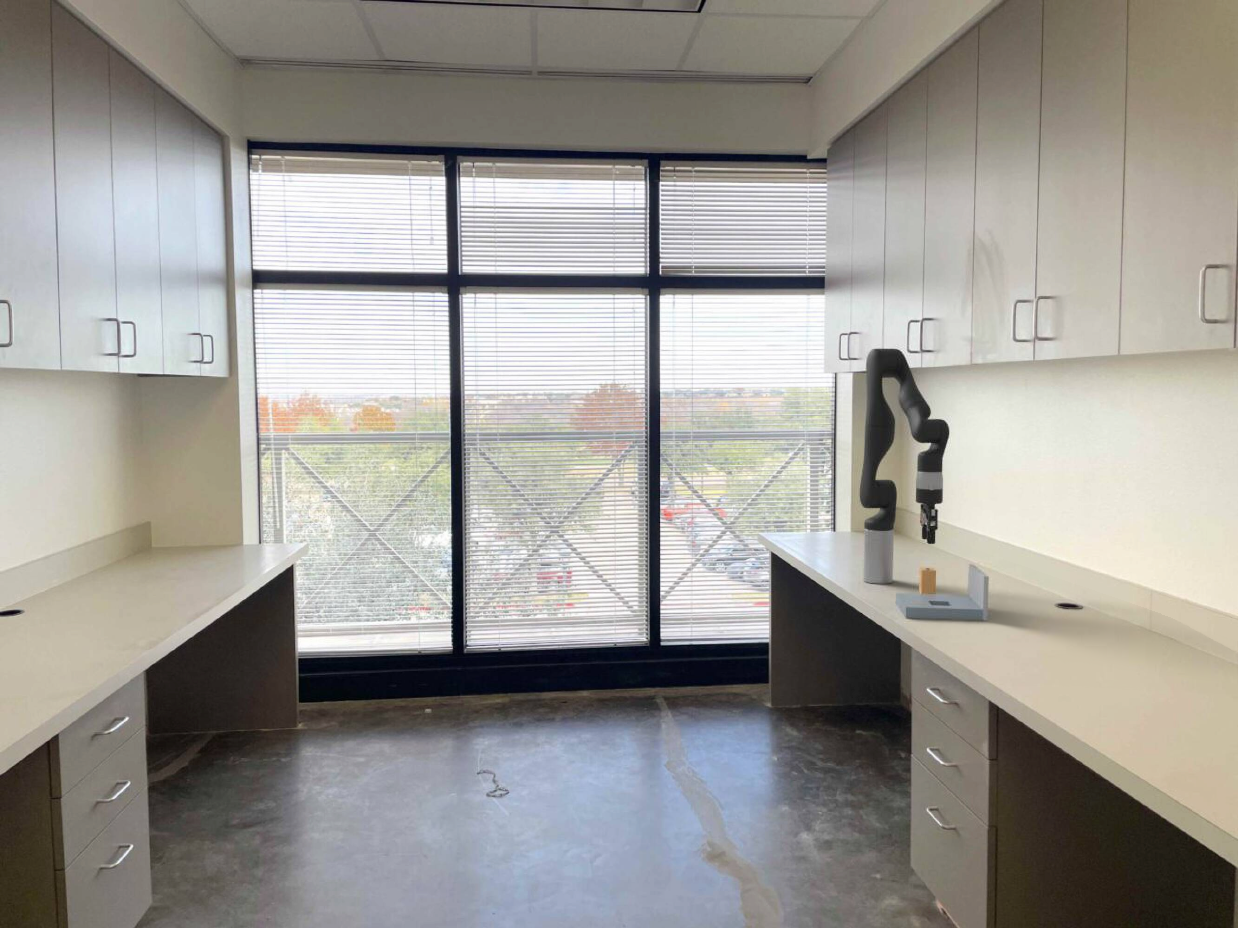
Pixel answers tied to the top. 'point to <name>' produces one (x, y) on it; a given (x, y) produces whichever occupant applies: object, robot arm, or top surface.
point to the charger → (927, 581)
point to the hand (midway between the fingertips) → (928, 541)
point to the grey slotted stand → (950, 601)
